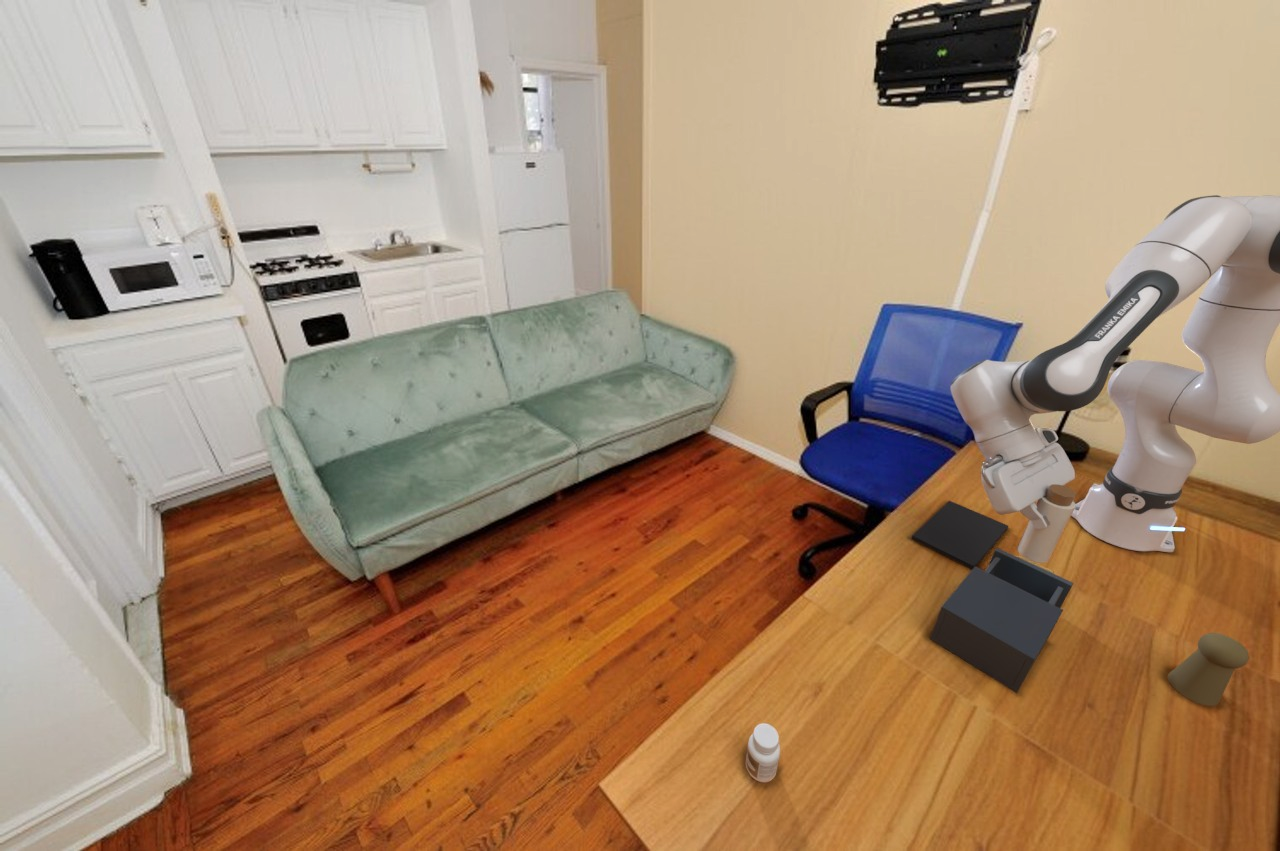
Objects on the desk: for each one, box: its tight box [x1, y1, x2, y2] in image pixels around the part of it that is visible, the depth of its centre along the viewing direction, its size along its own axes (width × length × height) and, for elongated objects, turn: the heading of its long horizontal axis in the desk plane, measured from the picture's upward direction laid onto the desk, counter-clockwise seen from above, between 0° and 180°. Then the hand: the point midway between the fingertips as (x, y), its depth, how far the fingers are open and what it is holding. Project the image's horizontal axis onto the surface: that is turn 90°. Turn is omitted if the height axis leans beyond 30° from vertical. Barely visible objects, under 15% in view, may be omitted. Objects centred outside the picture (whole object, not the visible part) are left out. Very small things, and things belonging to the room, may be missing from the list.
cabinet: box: [929, 566, 1064, 694], centre depth 89 cm, size 15×14×8 cm
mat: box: [910, 500, 1009, 570], centre depth 116 cm, size 20×13×1 cm, turn 130°
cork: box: [1167, 632, 1250, 707], centre depth 79 cm, size 6×6×11 cm
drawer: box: [984, 547, 1074, 609], centre depth 96 cm, size 18×13×6 cm
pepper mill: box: [1017, 484, 1077, 564], centre depth 88 cm, size 5×5×14 cm
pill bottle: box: [745, 722, 781, 783], centre depth 71 cm, size 4×4×8 cm
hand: (1053, 521), depth 87 cm, fingers closed on pepper mill, 5 cm apart
